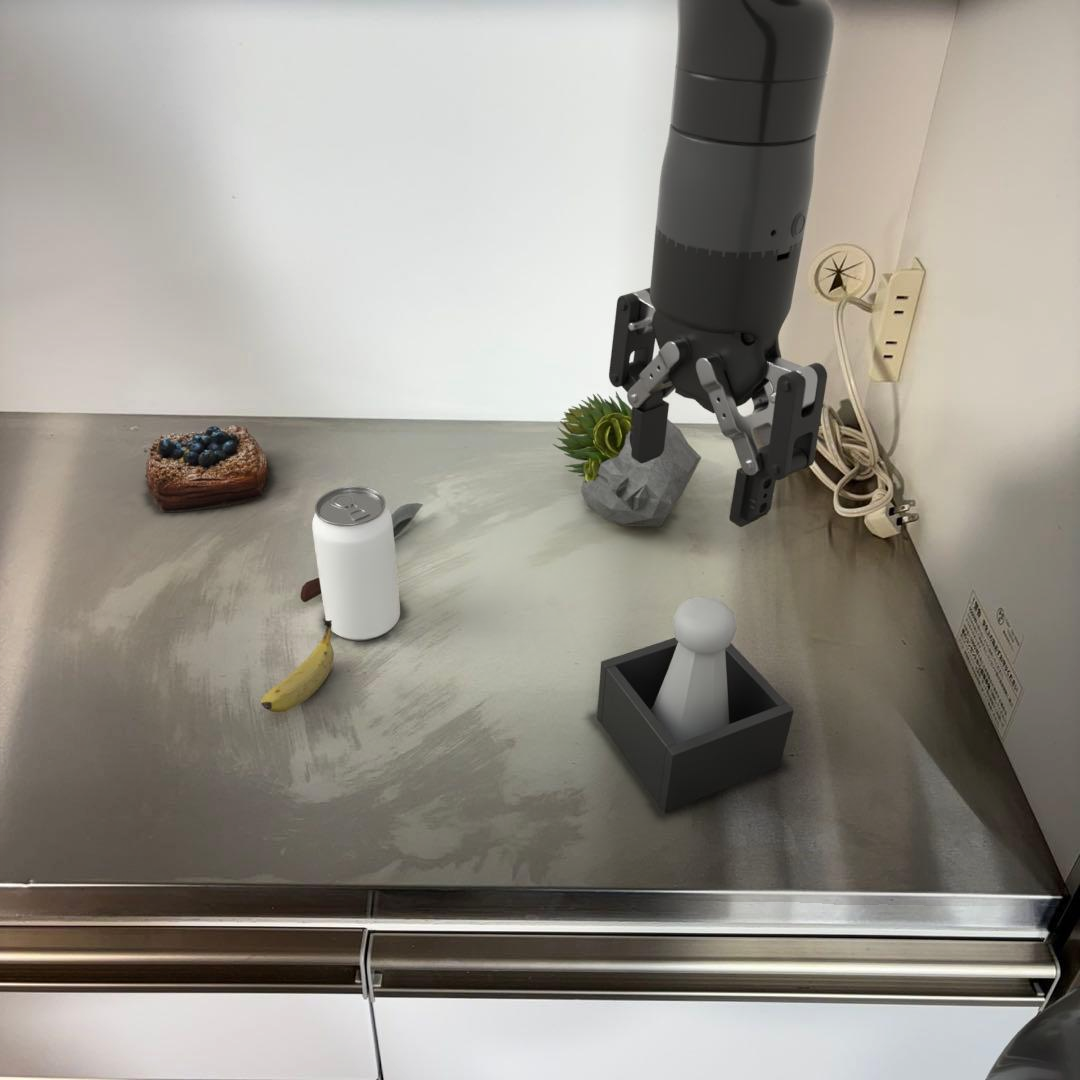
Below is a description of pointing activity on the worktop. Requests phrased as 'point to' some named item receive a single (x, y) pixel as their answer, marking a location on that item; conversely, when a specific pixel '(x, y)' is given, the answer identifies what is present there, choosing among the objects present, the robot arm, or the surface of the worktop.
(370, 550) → the can
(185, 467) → the pastry
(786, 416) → the robot arm
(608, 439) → the potted plant
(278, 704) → the banana
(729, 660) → the holder
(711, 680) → the salt shaker
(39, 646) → the worktop surface
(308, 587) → the knife
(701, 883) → the worktop surface
